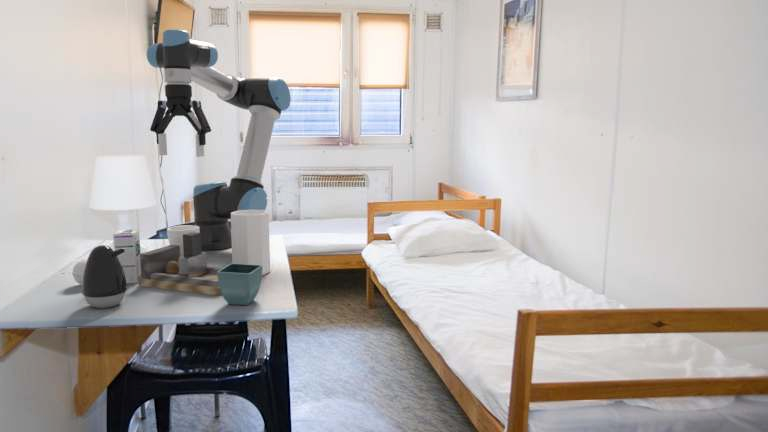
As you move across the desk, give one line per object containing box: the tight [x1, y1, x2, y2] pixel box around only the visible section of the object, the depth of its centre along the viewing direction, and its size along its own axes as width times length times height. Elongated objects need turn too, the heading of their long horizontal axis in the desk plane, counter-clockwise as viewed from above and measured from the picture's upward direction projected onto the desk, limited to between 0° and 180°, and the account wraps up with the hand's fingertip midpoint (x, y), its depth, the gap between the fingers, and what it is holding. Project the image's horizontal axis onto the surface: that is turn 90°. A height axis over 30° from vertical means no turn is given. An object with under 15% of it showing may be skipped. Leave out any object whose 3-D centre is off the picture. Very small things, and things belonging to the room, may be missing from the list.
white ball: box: [61, 258, 88, 286], centre depth 170 cm, size 10×7×7 cm
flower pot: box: [217, 263, 263, 306], centre depth 155 cm, size 9×9×9 cm
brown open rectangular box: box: [138, 244, 224, 296], centre depth 171 cm, size 26×14×9 cm, turn 70°
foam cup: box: [166, 224, 200, 257], centre depth 188 cm, size 10×9×13 cm
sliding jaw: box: [179, 232, 208, 277], centre depth 171 cm, size 3×8×12 cm, turn 160°
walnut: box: [165, 261, 179, 275], centre depth 174 cm, size 4×4×4 cm
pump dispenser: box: [81, 244, 128, 309], centre depth 151 cm, size 10×10×15 cm
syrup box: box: [112, 229, 142, 285], centre depth 174 cm, size 6×6×14 cm
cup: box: [230, 209, 271, 277], centre depth 184 cm, size 11×11×18 cm
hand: (181, 155), depth 185 cm, fingers open, 13 cm apart
